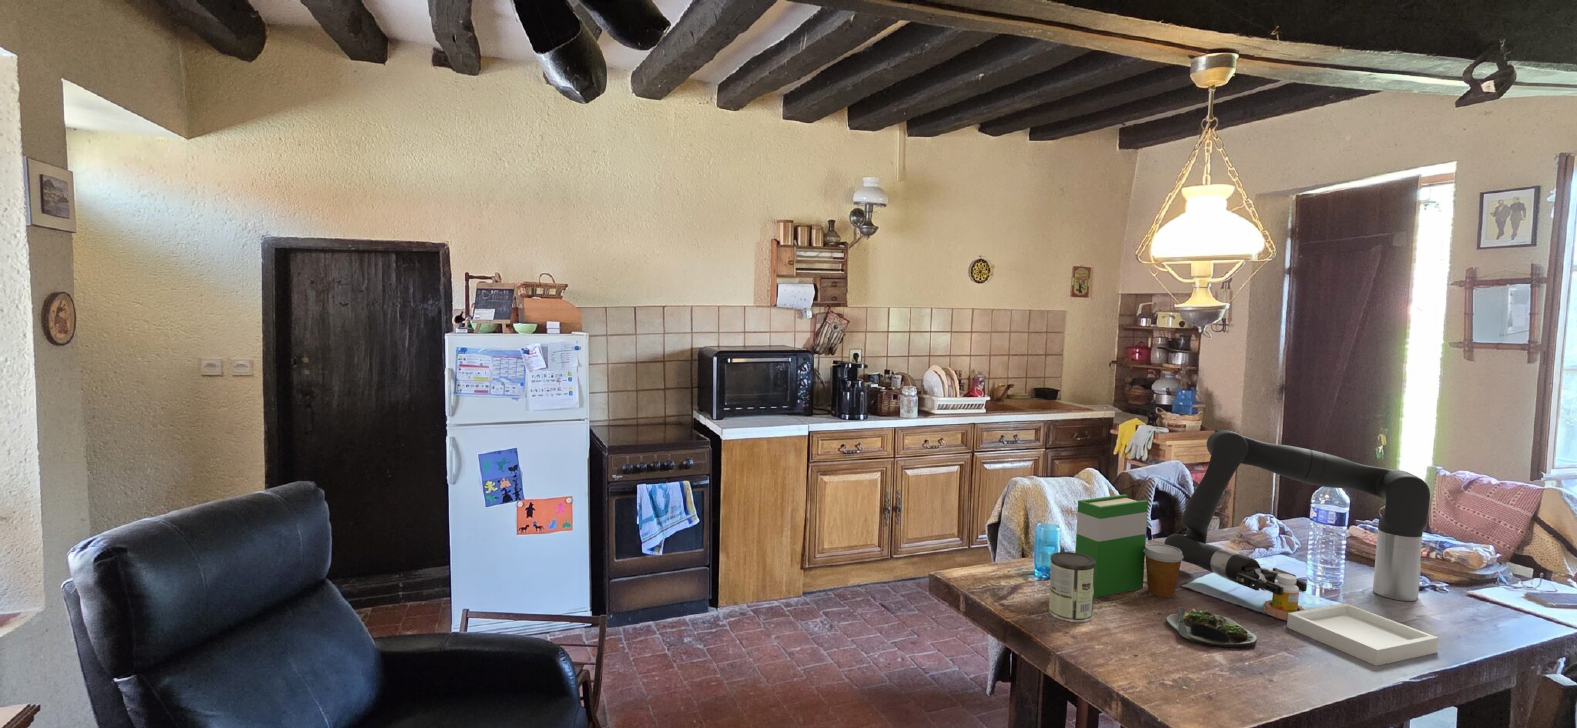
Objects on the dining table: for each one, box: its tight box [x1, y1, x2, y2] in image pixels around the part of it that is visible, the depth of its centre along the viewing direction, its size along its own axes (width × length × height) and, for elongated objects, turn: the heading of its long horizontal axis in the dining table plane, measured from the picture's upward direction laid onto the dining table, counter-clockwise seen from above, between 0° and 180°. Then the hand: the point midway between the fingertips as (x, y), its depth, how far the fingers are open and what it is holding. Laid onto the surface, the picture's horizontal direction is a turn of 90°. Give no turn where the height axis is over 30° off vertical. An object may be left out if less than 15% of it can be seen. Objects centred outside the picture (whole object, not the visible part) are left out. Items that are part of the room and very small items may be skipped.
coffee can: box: [1048, 551, 1095, 624], centre depth 185 cm, size 10×10×14 cm
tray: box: [1286, 602, 1439, 667], centre depth 173 cm, size 20×20×4 cm
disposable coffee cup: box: [1144, 543, 1184, 598], centre depth 199 cm, size 10×10×12 cm
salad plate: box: [1166, 606, 1258, 650], centre depth 177 cm, size 19×18×5 cm
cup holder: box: [1263, 599, 1306, 621], centre depth 187 cm, size 8×8×2 cm
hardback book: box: [1074, 494, 1149, 599], centre depth 202 cm, size 18×7×24 cm, turn 115°
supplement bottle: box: [1271, 573, 1300, 612], centre depth 187 cm, size 5×5×10 cm
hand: (1294, 589), depth 185 cm, fingers open, 7 cm apart
